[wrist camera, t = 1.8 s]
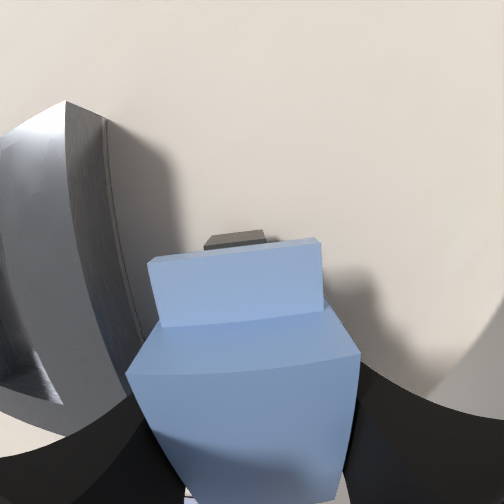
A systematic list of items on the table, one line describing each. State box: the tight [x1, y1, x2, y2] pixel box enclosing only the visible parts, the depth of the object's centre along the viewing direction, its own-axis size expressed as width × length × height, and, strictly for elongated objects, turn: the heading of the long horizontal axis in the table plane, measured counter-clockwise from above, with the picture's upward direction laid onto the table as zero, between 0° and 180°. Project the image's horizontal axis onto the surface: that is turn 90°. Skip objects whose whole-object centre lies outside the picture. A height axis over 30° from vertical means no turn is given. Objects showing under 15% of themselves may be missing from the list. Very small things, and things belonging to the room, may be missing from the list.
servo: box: [125, 230, 361, 504], centre depth 7 cm, size 9×4×5 cm, turn 7°
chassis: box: [0, 101, 145, 437], centre depth 8 cm, size 12×12×2 cm
